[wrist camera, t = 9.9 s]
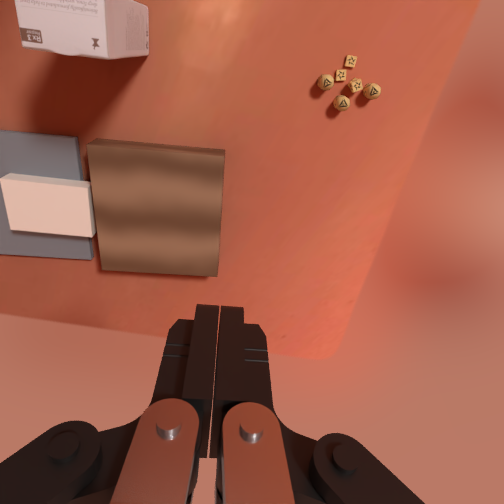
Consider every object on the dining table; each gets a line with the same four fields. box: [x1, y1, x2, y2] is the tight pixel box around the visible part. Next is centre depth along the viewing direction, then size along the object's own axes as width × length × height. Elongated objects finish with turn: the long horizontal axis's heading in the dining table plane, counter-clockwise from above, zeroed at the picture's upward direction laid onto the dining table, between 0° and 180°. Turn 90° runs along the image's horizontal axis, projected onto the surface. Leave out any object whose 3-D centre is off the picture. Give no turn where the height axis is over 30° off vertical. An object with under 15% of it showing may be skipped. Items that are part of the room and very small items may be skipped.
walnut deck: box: [86, 139, 225, 277], centre depth 42 cm, size 15×14×3 cm
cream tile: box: [0, 173, 97, 237], centre depth 41 cm, size 6×9×2 cm, turn 83°
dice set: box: [317, 55, 381, 111], centre depth 37 cm, size 5×5×2 cm
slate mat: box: [0, 130, 94, 260], centre depth 41 cm, size 15×16×1 cm
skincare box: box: [15, 0, 149, 60], centre depth 29 cm, size 6×4×12 cm
